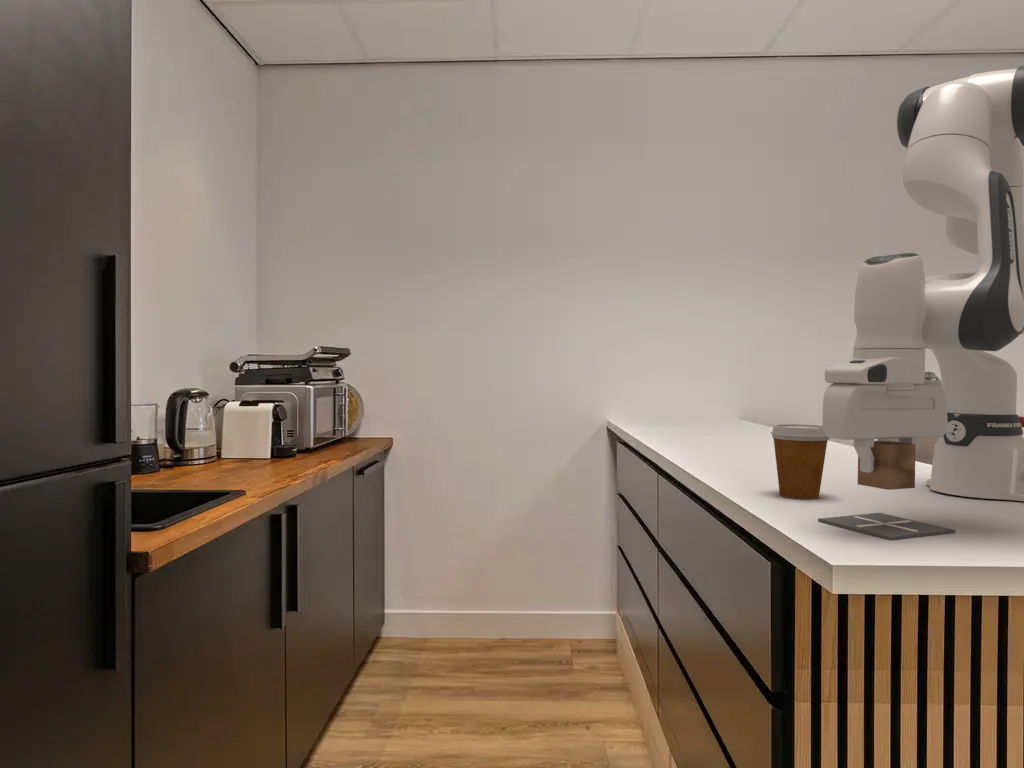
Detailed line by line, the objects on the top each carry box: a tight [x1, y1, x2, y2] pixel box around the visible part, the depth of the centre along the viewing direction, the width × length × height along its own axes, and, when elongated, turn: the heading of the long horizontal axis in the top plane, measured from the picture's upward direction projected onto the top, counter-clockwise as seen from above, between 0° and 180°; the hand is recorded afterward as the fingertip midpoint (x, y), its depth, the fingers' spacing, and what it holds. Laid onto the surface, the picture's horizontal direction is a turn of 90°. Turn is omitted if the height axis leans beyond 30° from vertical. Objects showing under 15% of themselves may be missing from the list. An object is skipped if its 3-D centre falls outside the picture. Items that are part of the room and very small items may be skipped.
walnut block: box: [857, 440, 917, 491], centre depth 101 cm, size 5×5×6 cm
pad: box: [817, 512, 956, 541], centre depth 101 cm, size 12×12×1 cm
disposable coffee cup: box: [770, 423, 830, 500], centre depth 125 cm, size 10×10×12 cm
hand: (886, 471), depth 101 cm, fingers closed on walnut block, 5 cm apart
